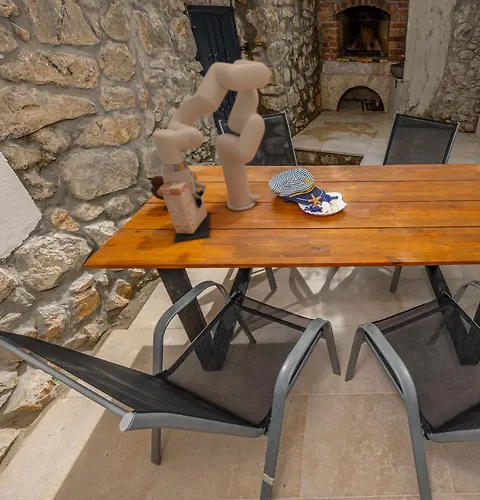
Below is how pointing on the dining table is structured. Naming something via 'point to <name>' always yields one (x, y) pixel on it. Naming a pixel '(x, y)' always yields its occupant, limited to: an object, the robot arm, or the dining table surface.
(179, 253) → the dining table surface
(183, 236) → the mat
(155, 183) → the ice cream bowl
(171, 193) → the coffeecake box
